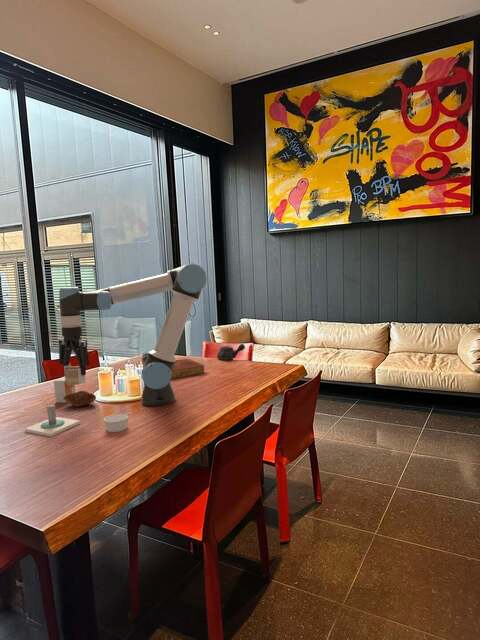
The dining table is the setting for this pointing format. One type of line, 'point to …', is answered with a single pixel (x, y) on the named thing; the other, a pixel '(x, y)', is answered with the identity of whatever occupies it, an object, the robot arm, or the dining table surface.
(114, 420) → the ramekin
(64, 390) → the small box
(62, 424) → the post stand
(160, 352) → the robot arm
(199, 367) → the book
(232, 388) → the dining table surface
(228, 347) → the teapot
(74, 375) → the maple ring
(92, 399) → the fossil
